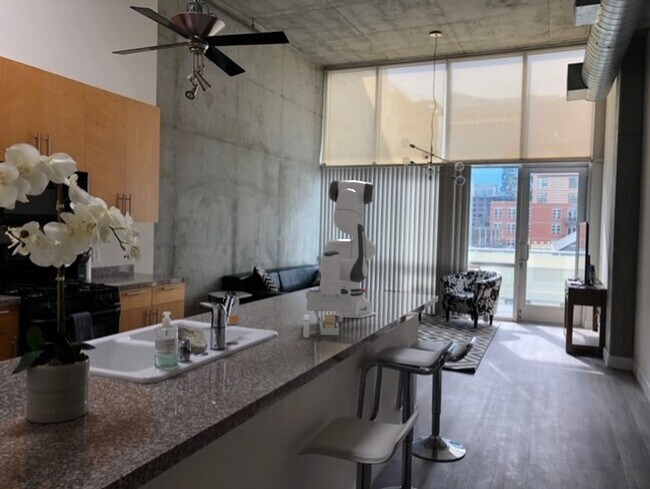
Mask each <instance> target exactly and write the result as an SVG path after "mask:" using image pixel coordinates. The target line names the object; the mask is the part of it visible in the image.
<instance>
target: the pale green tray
mask: <svg viewBox="0 0 650 489" xmlns="http://www.w3.org/2000/svg"><path fill="white" fill-rule="evenodd" d="M319 322H320V323H319V329H320V330H319V331H320V336H339V335H340V327H339V323H338V322H336V321H335V328H324V322H325V321H319Z"/></svg>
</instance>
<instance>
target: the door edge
mask: <svg viewBox="0 0 650 489" xmlns="http://www.w3.org/2000/svg"><path fill="white" fill-rule="evenodd" d="M302 333H303V334H302V335H303V336H302V337H303V338H310V313H308V314H307V313H305V314H303V330H302Z"/></svg>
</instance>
